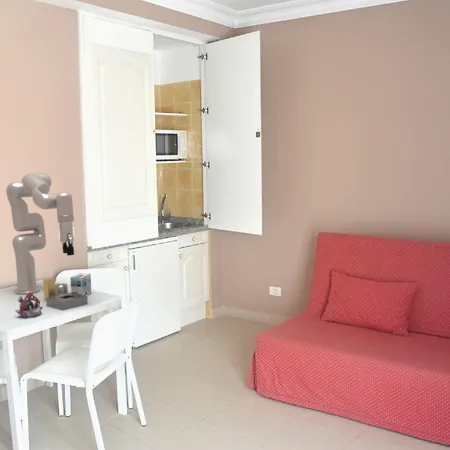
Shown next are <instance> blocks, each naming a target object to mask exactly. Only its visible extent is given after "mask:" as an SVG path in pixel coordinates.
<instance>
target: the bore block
mask: <svg viewBox="0 0 450 450" xmlns="http://www.w3.org/2000/svg"><path fill="white" fill-rule="evenodd" d="M88 300H89V299H88V295H87V296H86V295H81V294H77V293H72V292H71V291H70V292H68V293H65V294H61V295H57V296H52V297H48V298H46V301H45V303H46V307H50V308H53V309H58V310H60V311H66V310H70V309H73V308H77V307H81V306H86V305H88V304H89V301H88Z"/></svg>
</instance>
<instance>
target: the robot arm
mask: <svg viewBox="0 0 450 450" xmlns="http://www.w3.org/2000/svg"><path fill="white" fill-rule="evenodd" d="M51 186H52V179H51V176H50V175H49V174H47V173H45V172H34V173H33V172H31V173H26V174H25V175H23V176H22V178H21V180H20V181H13V182H11V183H9V184H8V185H7V187H6V191H5V192H6V197H7V200H8V202H9V206H10V211H11V217H12V225H13V228H14V230H15V231H16V232H19V233H20V232H23V233H21V234H17V235H15V236H14V237H13V239H12V241H11V242H12V247H13V251H14V257H15V264H16V265H15V268H16V281H17V283H16V285H15V286H16V287H17V289H15V290H14V293H15V294H17V295H27V293H28V292H31V293H32V294H34V293H37V292H40V287H37V279H36V264H35V263H36V262H35V258H34V256H33V255H32V253H31V252H32V251H37V250H38V251H39V250H42V249H44V248H45V247H46V246H47V245H46V244H47V238H46V230H45V221H44V218H43V216H42V214H40V213H39V212H29V205H28V204H27V202H26V201H25V199H23V198H32V201H33V203H34V204H35V206H37V207H38V208H40V209H41V210H42V209H43V210H52V209H53V210H54V209H56V214H57V215H56V216H57V223H58V224H59V228H58V229H59V241H60V243H61V244H62V253H63V254H66V255H67V256H74V255H75V250H74V241H75V240H74V229H73V222H75V219H74V207H73V206H74V204H73V196H72V194H71V193H69V192H66V193H65V192H54V193H50V187H51ZM31 231H33V232H31ZM24 232H30V233H24Z"/></svg>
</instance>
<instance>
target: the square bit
mask: <svg viewBox="0 0 450 450" xmlns="http://www.w3.org/2000/svg"><path fill="white" fill-rule="evenodd" d="M42 282H43V292H44V293H43V296H44V302H46V298H48V297H52V296H56V292H55V285H56V282H55V278H50V277H49V278H44V279H43V280H42Z"/></svg>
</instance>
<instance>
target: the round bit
mask: <svg viewBox="0 0 450 450" xmlns="http://www.w3.org/2000/svg"><path fill="white" fill-rule="evenodd" d="M68 291H69V290H68V283H55V292H56V296H57V295H61V294H65V293H69V292H68Z"/></svg>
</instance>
